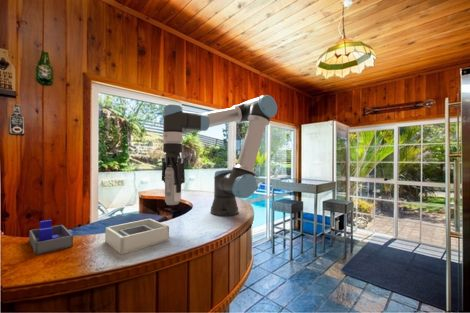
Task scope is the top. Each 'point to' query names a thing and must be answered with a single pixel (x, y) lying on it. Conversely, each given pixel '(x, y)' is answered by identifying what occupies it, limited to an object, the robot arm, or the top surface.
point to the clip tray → (54, 244)
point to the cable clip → (46, 231)
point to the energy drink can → (169, 187)
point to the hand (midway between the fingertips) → (172, 199)
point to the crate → (136, 235)
